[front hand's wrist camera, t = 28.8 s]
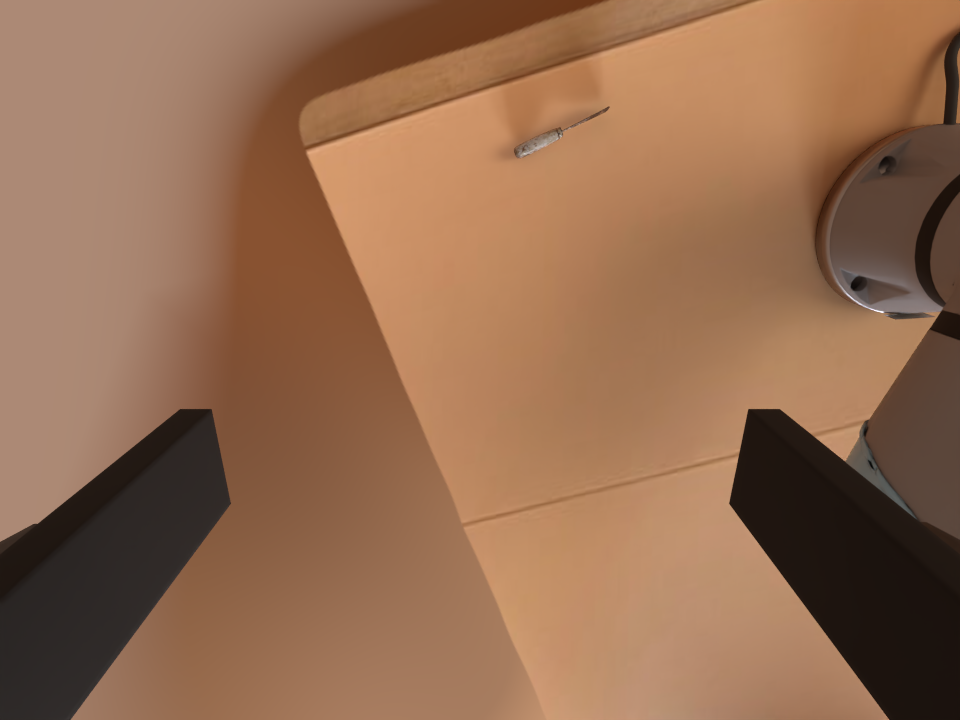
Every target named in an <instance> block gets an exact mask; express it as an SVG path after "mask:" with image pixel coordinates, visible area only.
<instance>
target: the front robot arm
mask: <svg viewBox="0 0 960 720" xmlns="http://www.w3.org/2000/svg"><path fill="white" fill-rule="evenodd" d="M959 48H960V33H958V34H957V35H956V36H955V37H954V39H953V40H952V42H951V43H950V45H949V47H948V49H947V51H946V54H945V60H944V68H945V77H946V98H945V111H944V123H943V124H937V125H926V126H919V127H914V128H910V129H906V130H903V131H900V132H898V133H895V134H893V135H891V136H889V137H886V138H884V139H883V140H881V141H879V142H878V143H876V144H874V145H873V146H871V147H870V148H869V149H867V150H866V151H865V152H863V153H862V154H861V155H860V156H859V157H858V158H857V159H855V160H854V161H853V162H852V163H851V164H850V165H849V167H848V168H847V169H846V170H845V171H844V172H843V173H842V175H841V176H840V177H839V179H838V180H837V182H836V183H835V185H834V186H833V188H832V189H831V191H830V193H829V195H828V197H827V199H826V201H825V203H824V205H823V208H822V211H821V214H820V217H819V221H818V226H817V232H816V252H817V259H818V263H819V266H820V269H821V271H822V274H823V275H824V277H825V279H826V281H827V282H828V283H829V285H830V286H831V287H832V288H833V289H834V290H835V291H836V292H837V293H838V294H839V295H840V296H842V297H843V298H845V299H846V300H848V301H850V302H852V303H855V304H857V305H860V306H863V307H866V308H868V309H871V310H874V311H878V312H882V313H890V315H885V316H888V317H891V318H893V319H910V318H925V317H934V316H931V315H928V314H925V313H923V312H941V313H940V314H939V316H938V317H937V319H936V320H935V322H934V323H933V325H932V327H931V328H930V329H929V330H928V332H927V333H926V335H925V336H924V338H923V339H922V341H921V342H920V344H919V345H918V347H917V348H916V350H915V351H914V353H913V354H912V356H911V357H910V359H909V360H908V362H907V363H906V365H905V367H904V368H903V370H902V371H901V373H900V374H899V376H898V377H897V379H896V380H895V382H894V383H893V385H892V386H891V388H890V389H889V391H888V392H887V394H886V395H885V397H884V398H883V400H882V401H881V403H880V404H879V406H878V407H877V409H876V410H875V412H874V413H873V415H872V416H871V418H870V419H869V420H867V421H865V422H864V424H863V425H862V427H861V429H860V437H859V439H858V441H857V442H856V444H855V446H854V448H853V449H852V451H851V453H850V455H849V456H848V458H847V460H846V462H845V461H844V460H842V459H841V458H840V457H839V456H837V455H836V454H835V453H834V452H832V451H831V450H830V449H829V448H827V447H826V446H825V445H824V444H822V443H821V442H820V441H819V440H817V439H816V438H815V437H814V436H812V435H811V434H810V433H809V432H807V431H806V430H805V429H804V428H803V427H801V426H800V425H799V424H798V423H796V422H795V421H794V420H793V419H791V418H790V417H789V416H788V415H786V414H785V413H784V412H783V411H781V410H780V409H748V414H747V419H746V424H745V429H744V434H743V439H742V443H741V448H740V453H739V458H738V463H737V468H736V473H735V478H734V483H733V488H732V493H731V498H730V502H729V504H730V505H731V507H732V508H733V509H734V511H735V512H736V514H737V515H738V516H739V518H740V519H741V520H742V522H743V523H744V524H745V526H746V527H747V528H748V530H749V531H750V532H751V534H752V535H753V536H754V538H755V539H756V540H757V542H758V543H759V545H760V546H761V547H762V549H763V550H764V551H765V553H766V554H767V555H768V557H769V558H770V559H771V561H772V562H773V563H774V565H775V566H776V567H777V569H778V570H779V571H780V573H781V574H782V576H783V577H784V578H785V580H786V581H787V582H788V584H789V585H790V586H791V588H792V589H793V590H794V592H795V593H796V594H797V596H798V597H799V598H800V600H801V601H802V602H803V604H804V605H805V607H806V608H807V609H808V611H809V612H810V613H811V615H812V616H813V617H814V619H815V620H816V621H817V623H818V624H819V625H820V627H821V628H822V629H823V631H824V632H825V633H826V635H827V636H828V638H829V639H830V640H831V642H832V643H833V644H834V646H835V647H836V648H837V650H838V651H839V652H840V654H841V655H842V656H843V658H844V659H845V660H846V662H847V663H848V664H849V666H850V667H851V668H852V670H853V671H854V673H855V674H856V675H857V677H858V678H859V679H860V681H861V682H862V683H863V685H864V686H865V687H866V689H867V690H868V691H869V693H870V694H871V695H872V697H873V698H874V699H875V701H876V702H877V704H878V705H879V706H880V708H881V709H882V710H883V712H884V713H885V714H886V716H887V717H888V718H889V720H960V124H957V123H956V115H957V103H958V90H959V75H958V67H957V54H958V50H959ZM903 313H905V314H903ZM230 504H231V502H230V498H229V493H228V488H227V483H226V478H225V473H224V468H223V463H222V458H221V453H220V448H219V444H218V439H217V434H216V429H215V424H214V419H213V414H212V410H211V409H180V410H179V411H177V412H176V413H175V414H174V415H172V416H171V417H170V418H169V419H167V420H166V421H165V422H164V423H162V424H161V425H160V426H159V427H157V428H156V429H155V430H154V431H153V432H151V433H150V434H149V435H148V436H146V437H145V438H144V439H143V440H141V441H140V442H139V443H138V444H136V445H135V446H134V447H133V448H131V449H130V450H129V451H128V452H126V453H125V454H124V455H123V456H121V457H120V458H119V459H118V460H117V461H115V462H114V463H113V464H112V465H110V466H109V467H108V468H107V469H105V470H104V471H103V472H102V473H100V474H99V475H98V476H97V477H95V478H94V479H93V480H92V481H90V482H89V483H88V484H87V485H85V486H84V487H83V488H82V489H80V490H79V491H78V492H77V493H76V494H74V495H73V496H72V497H71V498H69V499H68V500H67V501H66V502H64V503H63V504H62V505H61V506H59V507H58V508H57V509H56V510H54V511H53V512H52V513H51V514H49V515H48V516H47V517H46V518H45V519H43V520H42V521H41V522H40V523H38V524H33V525H31V526H29V527H27V528H25V529H24V530H22V531H20V532H18V533H16V534H14V535H12V536H10V537H9V538H7V539H5V540H3V541H1V542H0V720H71V718H72V717H73V716H74V714H75V713H76V712H77V710H78V709H79V708H80V706H81V705H82V703H83V702H84V701H85V699H86V698H87V697H88V695H89V694H90V693H91V691H92V690H93V689H94V687H95V686H96V685H97V683H98V682H99V681H100V679H101V678H102V677H103V675H104V674H105V673H106V671H107V670H108V668H109V667H110V666H111V664H112V663H113V662H114V660H115V659H116V658H117V656H118V655H119V654H120V652H121V651H122V650H123V648H124V647H125V646H126V644H127V643H128V641H129V640H130V639H131V637H132V636H133V635H134V633H135V632H136V631H137V629H138V628H139V627H140V625H141V624H142V623H143V621H144V620H145V619H146V617H147V616H148V615H149V613H150V612H151V611H152V609H153V608H154V607H155V605H156V604H157V602H158V601H159V600H160V598H161V597H162V596H163V594H164V593H165V592H166V590H167V589H168V588H169V586H170V585H171V584H172V582H173V581H174V580H175V578H176V577H177V575H178V574H179V573H180V571H181V570H182V569H183V567H184V566H185V565H186V563H187V562H188V561H189V559H190V558H191V557H192V555H193V554H194V552H195V551H196V550H197V549H198V547H199V546H200V545H201V543H202V542H203V540H204V539H205V538H206V536H207V535H208V534H209V532H210V531H211V530H212V528H213V527H214V526H215V524H216V523H217V522H218V520H219V519H220V518H221V516H222V515H223V513H224V512H225V511H226V509H227V508H228V507H229V505H230Z"/></svg>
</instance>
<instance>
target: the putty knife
mask: <svg viewBox="0 0 960 720" xmlns="http://www.w3.org/2000/svg"><path fill="white" fill-rule="evenodd" d="M608 109H609V107H607V108H605V109H603V110H602V111H600V112H598V113H596V114H594V115H592V116H590V117H588V118H586V119H584V120H582V121H580V122H578V123H576V124H574V125H572V126H570V127H568V128H567V129H565V130H563V131H562V130H561V128H560V127H559V128H556V129H553V130H551V131H548V132H546V133H544V134H541V135H539V136H537V137H535V138H533V139H530V140H529V141H527V142H525V143H523V144H520V145H519V146H517V147H515V149H514V152H515V155H516V157H517V158H522V157H524V156H527V155H529V154H531V153H533V152H535V151H537V150H539V149H541V148H543V147H545V146H547V145H549V144H551V143H553V142H555V141H557V140H558V139H560V138H561V137H562V136H563V133H562V132H564V131H566V130H568V129H570V128H573V127H575V126H577V125H579V124H581V123H584V122H586V121H588V120H590V119H592V118H594V117H596V116H598V115H600V114H602V113H604V112H606V111H607V110H608Z"/></svg>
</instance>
